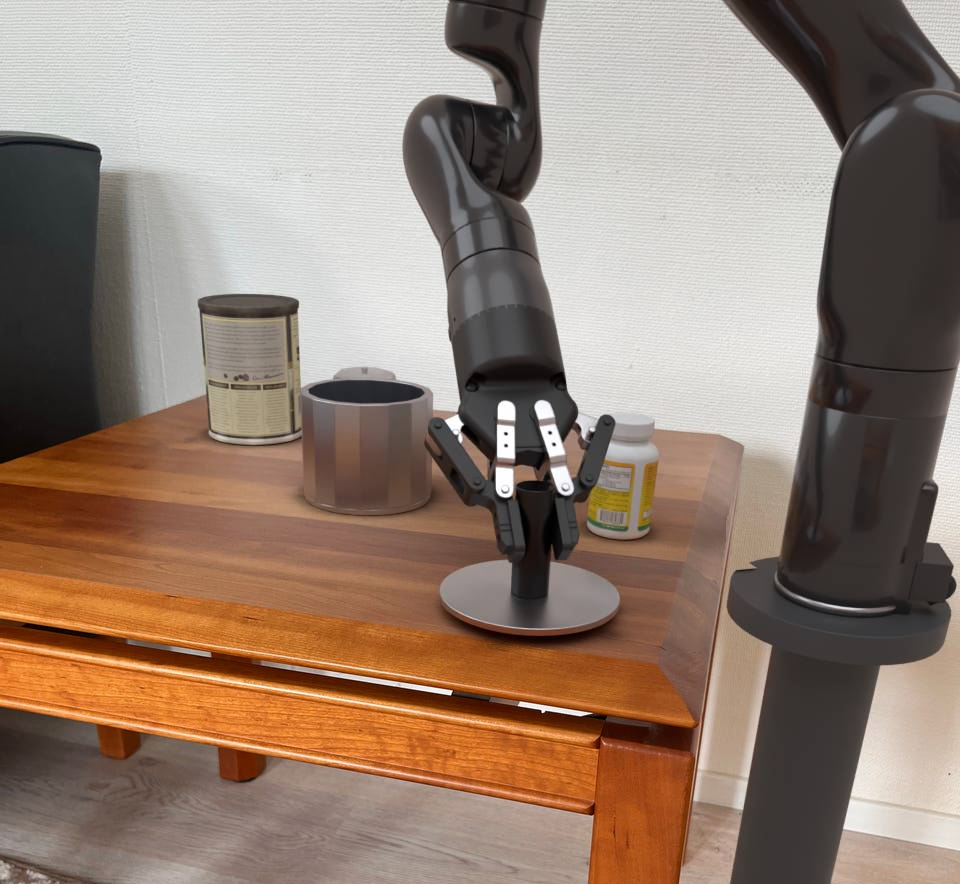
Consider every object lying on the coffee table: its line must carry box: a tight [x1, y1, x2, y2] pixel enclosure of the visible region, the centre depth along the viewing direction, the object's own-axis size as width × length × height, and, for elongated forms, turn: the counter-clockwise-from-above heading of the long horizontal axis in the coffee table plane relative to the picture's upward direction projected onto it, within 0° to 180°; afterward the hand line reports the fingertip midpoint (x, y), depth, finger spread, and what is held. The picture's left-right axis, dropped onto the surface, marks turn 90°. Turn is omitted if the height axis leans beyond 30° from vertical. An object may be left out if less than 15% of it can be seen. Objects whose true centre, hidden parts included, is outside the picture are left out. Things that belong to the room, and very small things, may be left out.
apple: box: [332, 365, 397, 380], centre depth 116 cm, size 8×8×7 cm
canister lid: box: [438, 479, 621, 637], centre depth 69 cm, size 12×12×9 cm
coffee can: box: [197, 293, 302, 446], centre depth 109 cm, size 10×10×14 cm
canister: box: [300, 378, 434, 516], centre depth 91 cm, size 11×11×10 cm
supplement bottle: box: [586, 412, 660, 541], centre depth 85 cm, size 5×5×10 cm
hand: (541, 555), depth 67 cm, fingers closed on canister lid, 2 cm apart
